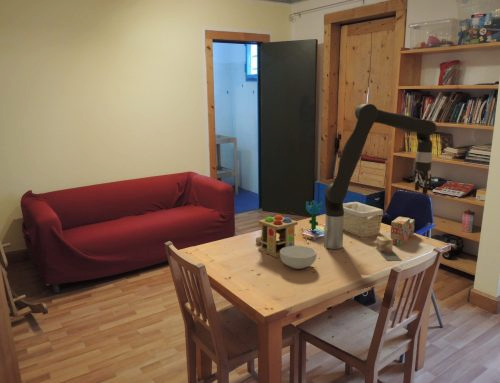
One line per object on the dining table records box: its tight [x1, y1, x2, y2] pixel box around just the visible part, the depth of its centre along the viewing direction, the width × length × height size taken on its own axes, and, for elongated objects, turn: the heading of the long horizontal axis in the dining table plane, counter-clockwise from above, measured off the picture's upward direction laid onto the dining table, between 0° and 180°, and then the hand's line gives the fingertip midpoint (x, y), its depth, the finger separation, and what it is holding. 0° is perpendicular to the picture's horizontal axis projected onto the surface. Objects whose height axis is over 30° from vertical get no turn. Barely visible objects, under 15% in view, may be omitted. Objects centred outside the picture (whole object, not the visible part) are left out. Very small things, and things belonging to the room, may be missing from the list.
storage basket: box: [343, 201, 384, 238], centre depth 242 cm, size 24×16×15 cm
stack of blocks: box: [389, 216, 415, 246], centre depth 227 cm, size 21×6×12 cm, turn 143°
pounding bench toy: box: [255, 214, 299, 259], centre depth 213 cm, size 23×14×18 cm, turn 39°
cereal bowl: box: [279, 245, 317, 270], centre depth 192 cm, size 17×17×7 cm
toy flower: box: [305, 199, 323, 230], centre depth 239 cm, size 9×9×18 cm
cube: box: [375, 235, 394, 252], centre depth 211 cm, size 6×6×6 cm
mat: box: [375, 248, 403, 262], centre depth 206 cm, size 7×17×1 cm, turn 1°
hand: (420, 192), depth 212 cm, fingers open, 8 cm apart
